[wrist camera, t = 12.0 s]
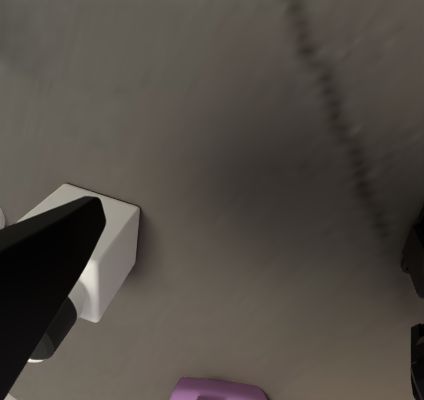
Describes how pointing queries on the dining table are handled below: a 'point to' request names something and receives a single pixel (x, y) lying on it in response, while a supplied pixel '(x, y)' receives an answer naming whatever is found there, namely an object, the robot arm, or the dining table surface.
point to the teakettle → (215, 390)
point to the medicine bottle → (92, 265)
